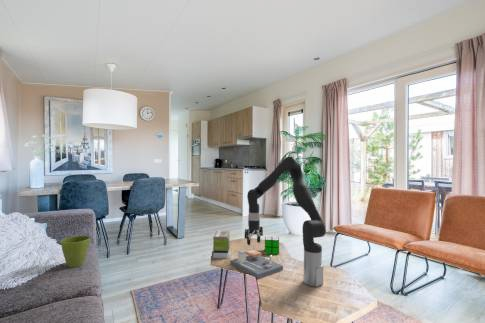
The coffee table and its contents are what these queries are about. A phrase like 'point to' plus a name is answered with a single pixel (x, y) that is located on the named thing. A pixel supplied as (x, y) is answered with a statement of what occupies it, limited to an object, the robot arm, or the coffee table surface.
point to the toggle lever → (269, 259)
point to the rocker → (253, 253)
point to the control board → (257, 266)
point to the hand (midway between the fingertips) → (253, 243)
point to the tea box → (221, 244)
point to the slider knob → (242, 256)
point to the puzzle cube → (271, 245)
